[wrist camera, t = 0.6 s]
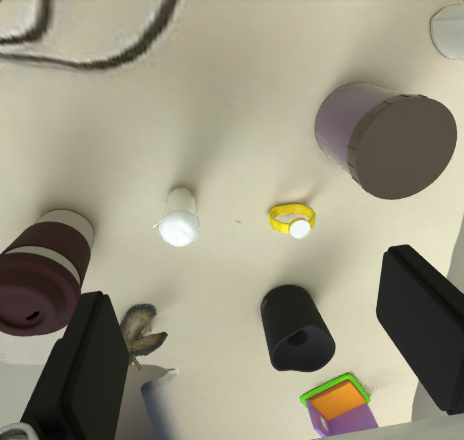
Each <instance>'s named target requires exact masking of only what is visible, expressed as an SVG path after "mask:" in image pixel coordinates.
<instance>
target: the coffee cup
mask: <svg viewBox="0 0 464 440" xmlns="http://www.w3.org/2000/svg"><path fill="white" fill-rule="evenodd" d="M93 242H94V232H93V229H92V227H91V225H90V223H89V222H88V221H87V220H86V219H85V218H84V217H82V216H81V215H79V214H77V213H75V212H72V211H68V210H54V211H50V212H48V213H46V214H44V215H43V216H42V217H41V218H40V219H39V220H38V221H37V222H36V223H35V224H34V225H32V226H30V227H28V228H27V229H26V230H25V231H24V232H23V233H22V234H21V235H20V236H19V237H18V238H17V239H16V240H15V241H14V242H13V243H12V244H11V245H10V246H8V247H7V248H6V249H5V250H4V251H3V252H2V253H1V254H0V331H1V332H3V333H6V334H9V335H13V336H34V335H45V334H49V333H53V332H56V331H58V330H60V329H62V328H64V327H65V326H67V325H68V324H69V321H70V319H71V317H72V315H73V312H74V310H75V308H76V305H77V303H78V301H79V298H80V296H81V287H82V284H83V281H84V277H85V274H86V271H87V267H88V264H89V261H90V256H91V248H92V245H93Z"/></svg>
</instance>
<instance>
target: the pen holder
mask: <svg viewBox="0 0 464 440" xmlns="http://www.w3.org/2000/svg"><path fill="white" fill-rule="evenodd" d="M261 316H262V321H263V327H264V331H265V336H266V341H267V346H268V351H269V355H270V360H271V364H272V366H273V367H274V368H275V369H276V370H278V371H288V370H293V371H300V372H314V371H317V370H319V369H321V368H322V367H324V366H325V365H326V364H327V363H328V362H329V361H330V360H331V359H332V357H333V355H334V353H335V348H336V346H335V342H334V340H333V338H332V336H331V334H330V332H329V330H328V328H327V326H326V324H325V322H324V321H323V319H322V317H321V315H320V313H319V311H318V309H317V307H316V305H315V304H314V302H313V300H312V298H311V297H310V295H309V294H308V292H307V291H305V290H304V289H302V288H300V287H296V286H283V287H279V288H277V289H275V290H273V291H271V292H270V293H269V294H268V295H267V296H266V297H265V298H264V300H263V302H262V304H261Z"/></svg>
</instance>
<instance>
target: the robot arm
mask: <svg viewBox="0 0 464 440" xmlns="http://www.w3.org/2000/svg"><path fill="white" fill-rule="evenodd" d="M376 315H377V318H378V320H379V322H380V324H381V325H382V326H383V328H384V329H385V331H386V332H387V334H388V335H389V337H390V338H391V340H392V341H393V342H394V344H395V345H396V347H397V348H398V350H399V351H400V353H401V354H402V356H403V357H404V358H405V360H406V361H407V363H408V364H409V366H410V367H411V369H412V370H413V372H414V373H415V374H416V376H417V377H418V379H419V380H420V382H421V383H422V384H423V386H424V388H425V389H426V390H427V392H428V393H429V395H430V396H431V398H432V399H433V401H434V402H435V404H436V405H437V406H438V407H439V409H441V410H442V411H446V412H447V414H448V415H449V416H444V417H438V418H431V419H426V420H420V421H414V422H408V423H403V424H397V425H391V426H385V427H380V428H374V429H368V430H363V431H357V432H351V433H346V434H340V435H335V436H329V437H323V438H318V439H312V440H464V294H463V293H462V292H460V291H459V290H458V289H457V288H456V287H455V286H454V285H453V284H452V283H451V282H449V281H448V280H447V279H446V278H445V277H444V276H443V275H442V274H441V273H440V272H438V271H437V270H436V269H435V268H434V267H433V266H432V265H431V264H430V263H429V262H427V261H426V260H425V259H424V258H423V257H422V256H421V255H420V254H419V253H418V252H416V251H415V250H414V249H413V248H412V247H411V246H410V245H407V244H405V245H399V246H392V247H389V249H388V251H387V252H385V253H384V255H383V262H382V269H381V277H380V285H379V292H378V300H377V307H376ZM128 365H129V352H128V348H127V346H126V343H125V340H124V337H123V334H122V331H121V329H120V326H119V323H118V320H117V317H116V314H115V312H114V309H113V306H112V303H111V300H110V298H109V296H108V295H107V294H105V295H103V293H102V292H101V291H96V292H89V293H83V294H82V295H81V296H80V298H79V301H78V303H77V305H76V308H75V310H74V312H73V315H72V317H71V319H70V321H69V324H68V326H67V328H66V331H65V333H64V335H63V338H61V339H59V340H57V341H56V343H55V345H54V347H53V349H52V351H51V353H50V355H49V358H48V360H47V362H46V364H45V367H44V369H43V371H42V374H41V376H40V378H39V380H38V382H37V385H36V387H35V389H34V391H33V394H32V396H31V398H30V400H29V402H28V404H27V407H26V409H25V412H24V413H23V416H22V418H21V420H20V422H19V423H12V424H9V425H7V426H4V427H2V428H0V440H114V439H115V433H116V428H117V422H118V418H119V412H120V407H121V402H122V396H123V391H124V386H125V381H126V374H127V370H128Z"/></svg>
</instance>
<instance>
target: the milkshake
mask: <svg viewBox="0 0 464 440" xmlns="http://www.w3.org/2000/svg"><path fill="white" fill-rule="evenodd" d="M159 224H160V225H159ZM157 225H159V232H160V234H161V236H162V238H163V239H164V240H165V241H166V242H168V243H169V244H172V245H174V246H179V247H182V246H186V245H188V244H190V243H192V242H194V241H195V240H196V238H197V237H198V235H199V232H200V224H199V220H198V216H197V212H196V207H195V202H194V197H193V195H192V194H191V192H190V190H188V189H185V188H183V187H181V188H175V189H174V190H173V191H172V192H171V193H170V194H169V197H168V200H167V204H166V207H165V210H164V213H163V216H162V219H161V221H159V222H158V223H156V224H155V225H154V226H153V227H152V229H153V228H154V227H156V226H157Z"/></svg>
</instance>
